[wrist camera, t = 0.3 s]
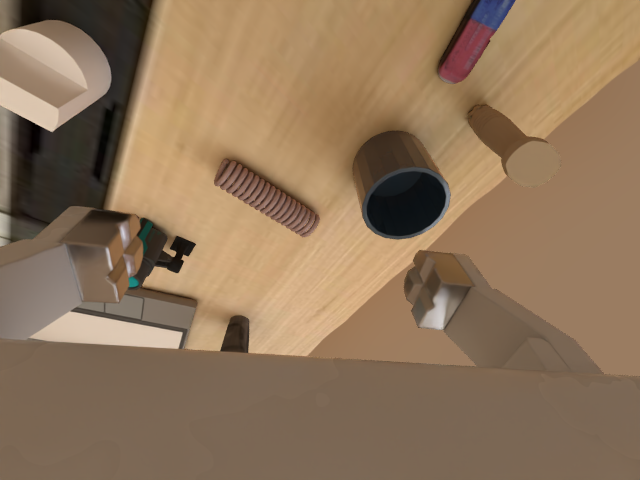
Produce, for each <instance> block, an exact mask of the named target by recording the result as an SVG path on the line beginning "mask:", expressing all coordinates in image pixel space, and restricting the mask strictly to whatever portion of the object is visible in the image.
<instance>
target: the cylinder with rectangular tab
mask: <svg viewBox="0 0 640 480" xmlns="http://www.w3.org/2000/svg"><path fill="white" fill-rule="evenodd" d="M110 83H111V71H110V66H109V64H108V61H107V58H106V57H105V55H104V53H103V52H102V50H101V48H100V47H99V46H98V45H97V44H96V43H95V41H94V40H93V39H92V38H91V37H90V36H88V35H87V34H86V33H85V32H83V31H82V30H81V29H79V28H77V27H75V26H73V25H71V24H70V23H66V22H63V21H59V20H46V21H42V22H38V23H34V24H30V25H26V26H22V27H19V28H15V29H11V30H8V31H6V32H3V33H2V34H1V35H0V105H1V106H3V107H5V108H7V109H9V110H10V111H12V112H14V113H16V114H18V115H20V116H22V117H24V118H26V119H28V120H30V121H32V122H34V123H36V124H38V125H39V126H41V127H43V128H45V129H47V130H49V131H51V132H52V131H53V130H55V129H56V128H58V127H59V126H61V125H62V124H63V123H65V122H66V121H68V120H69V119H70V118H72V117H73V116H75V115H77V114H78V113H79V112H81V111H82V110H84V109H85V108H86V107H88V106H89V105H91V104H92V103H93V102H95V101H96V100H98V99H99V98H101V97H102V96H103V95H104V94H106V93H107V91H108V89H109V87H110Z"/></svg>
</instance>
